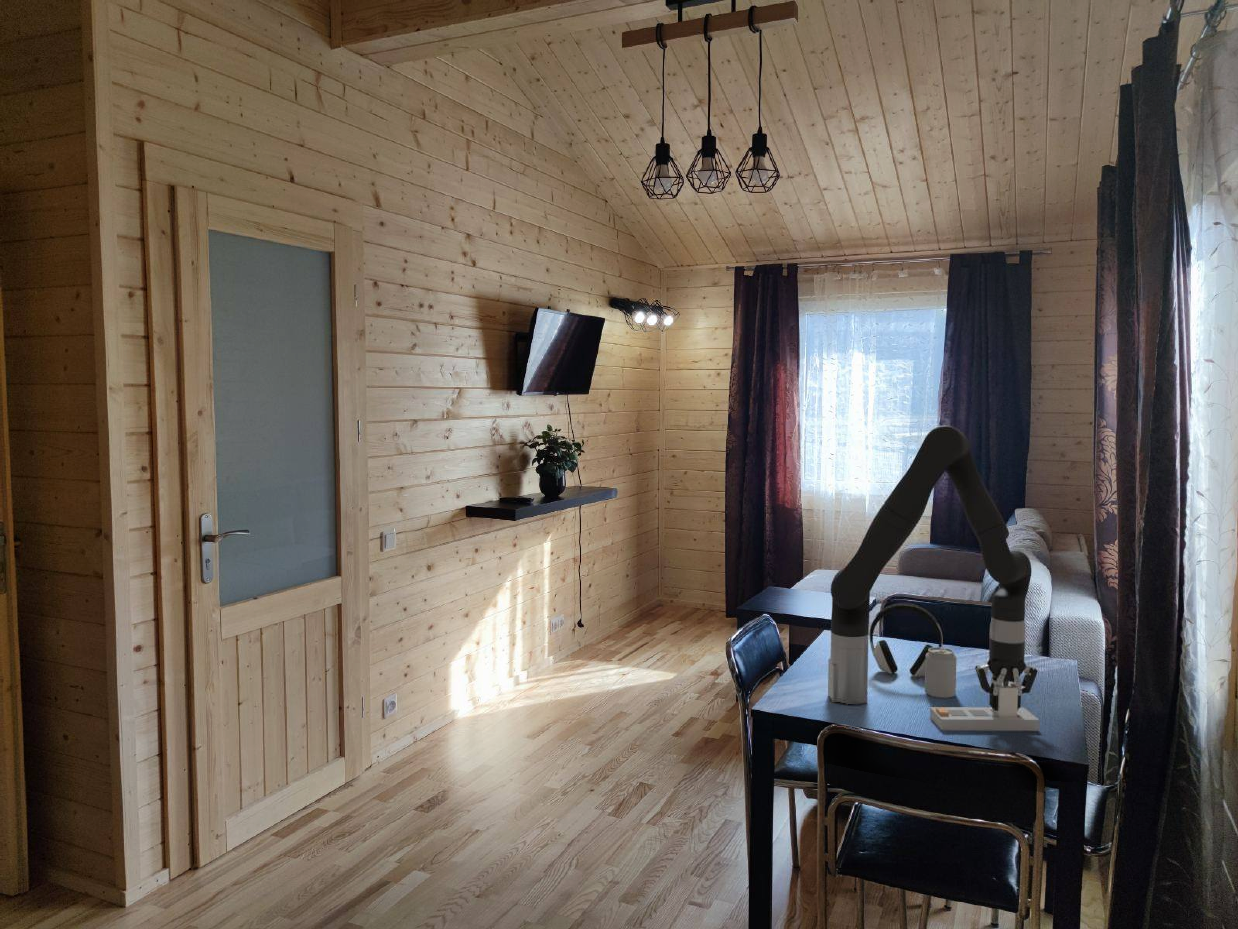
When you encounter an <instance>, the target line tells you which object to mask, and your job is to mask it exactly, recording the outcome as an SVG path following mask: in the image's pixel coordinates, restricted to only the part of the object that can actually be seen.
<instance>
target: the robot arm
mask: <svg viewBox="0 0 1238 929" xmlns="http://www.w3.org/2000/svg"><path fill="white" fill-rule="evenodd" d="M970 446H971V445H970V443H969V439H968V438H967V436H966V435H965V434H964V433H963V432H962V431H960V429H958V428H955V427H953V426H950V425H944V424H943V425H938V426H936V427H934V428H933V429H931V430H930V431H929V432H928V433H927V434H926V436H925V437H924V440H923V441H922V443H921V445H920V447H919V449H918V451H917V453H916V454H915V457H914V458H913V460H912V462H911V464H910V466H909V468H908V469H907V471H906V472H905V473H904V475H903V476H902V478H900V480H899V481H898V483H897V484H896V486H895V487H894V489H893V490H892V491H891V493H890V494H889V496H887V498H886V499H885V501H884V503H883V504H882V506H881V507H880V508H879V510H878V511H877V513H876V514H875V516H874V517H873V519H872V521H871V523H870V525H869V527H868V529H867V531H866V532H865V535H864V537H863V539H862V540H861V543H860V546H859V547H858V550H857V551H856V552H855V554H854V555H853V557H852V558H851V559H850V560H849V562H848V563H847V564H846V566H845V567H844V568H842V569H840V570H839V571H837V573H836V574H835V575H834V577H833V578H832V582H831V585H830V595H831V598H832V599H831V600H832V601H831V617H830V618H831V619H830V658H828V663H827V667H828V670H827V678H828V679H827V695H829V696H830V697H829V696H828V697H829V699H830V698H831V699H832V700H831V699H830V700H831V702H832V701H833V702H841V703H846V704H845V705H848V704H855V705H854V706H857V705H863V704H866V703H867V702H868V695H869V694H868V693H869V691H868V688H869V687H868V685H869V683H868V682H869V681H868V680H869V679H868V678H869V674H868V673H869V633H870V606H871V605H870V604H871V601H870V600H871V598H870V596H871V595H870V594H871V590H872V589H873V587H874V585H875V583H876V581H877V579H878V578H879V576H880V574H881V573H882V571H883V569H884V568H885V566H886V565H887V564H888V563H889V561H891V559H892V558H893V557H895V556H894V555H896V554H897V553H898V551H899V550H900V548H902V546H903V545H904V543H905V541H907V539H908V538H909V537H910V536H911V533H913V531H914V530H915V528H916V526H917V524H919V522H920V520H921V518H922V517H923V516H924V515H923V514H924V512H925V510H926V508H927V505H928V502H929V499H930V497H931V494H932V492H933V489H934V488H935V486H936V484H937V483H938V481H939V480H940V479H941V477H942V476H943V475H944V473H945V472H946V473H947V475H948V477H949V478H950V479H951V482H952V483H953V485H954V487H955V490H956V491H957V494H958V497H959V499H960V502H961V505H962V509H963V511H964V514H965V517H966V519H967V521H968V523H969V525H970V528H971V529H972V532H973V533H974V535H975V537H976V538H977V541H978V542H979V547H980V552H981V556H982V559H983V560H982V561H983V563H984V566H985V569H986V571H987V573H988V574H989V575H990V577H991V579H993V580H994V581H995V582H997V583H998V584H999V587H998V588H997V589H998V590H997V591H996V592H995V593H994V594H993V595H992V600H991V621H990V625H989V631H988V632H989V645H988V646H989V647H988V648H989V649H988V652H989V653H988V654H989V655H988V656H989V657H988V661H987V662H986V664H983V665H981V666H980V665H976V666H975V668H974V669H975V672H976V675H977V678H978V681H979V684H980V689H982V691H984V692H985V693H986V694H987V693H988V694H989V701H988V702H989V707H992V709H993V710H994V711H998V693H999V687H1001V686H1002V683H1003V682H1004V681H1009V683H1011V684H1013V685H1014V686H1015V687H1017V688H1018V702H1017V711H1018V709H1020V708H1022V707H1021V706H1022V695H1023V694H1029V693H1030V692H1031V690H1032V688H1033V685H1034V682H1035V680H1036V677H1037V674H1038V669H1037V668H1036V667H1034V666H1032V665H1027V664H1026V662H1025V657H1026V656H1025V654H1026V653H1025V652H1026V620H1025V617H1026V598H1027V595H1028V591H1029V588H1030V583H1031V579H1032V564H1031V560H1030V558H1029V556H1028V555H1027V554H1025V553H1024V551H1021V550H1016V549H1014V550H1011V549H1010V547H1009V544H1008V541H1007V539H1008V538H1009V535H1010V532H1009V528H1008V527H1007V524H1006V522H1005V521H1004V519H1003V517H1002V515H1001V513H1000V510H999V509H998V507H997V505H996V504H995V502H994V499H993V498H992V497H991V495H990V493H989V491H988V490H987V487H986V486H985V484H984V482H983V479H982V477H981V475H980V473H979V470H978V468H977V465H976V462H975V459H974V457H973V453H972V449H971V447H970ZM989 671H990V672H991V674H992V676H991V678H990V684H989V680H988V678H987V675H988V672H989ZM1023 672H1024V674H1025V675H1024V677H1023V679H1022V682H1021V678H1020V676H1021V675H1022V674H1023ZM833 702H832V703H833ZM841 703H840V704H841Z"/></svg>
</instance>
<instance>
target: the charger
mask: <svg viewBox="0 0 1238 929" xmlns="http://www.w3.org/2000/svg"><path fill="white" fill-rule="evenodd" d="M1017 702H1018V688H1017V687H1015V686H1014V685H1013V684H1011V683H1010V681H1004V682H1003V683H1002V686H1001V687H999V693H998V711H994V710H993V713H994V714H995V715H996V716H997V717H1010V718H1017Z"/></svg>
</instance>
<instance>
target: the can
mask: <svg viewBox="0 0 1238 929" xmlns="http://www.w3.org/2000/svg"><path fill="white" fill-rule="evenodd" d="M928 651H929V652H928V653H927V654H926V661H925V676H924V692H925V693H926V694H927V695H928V696H930V697H933V698H938V699H951V698H953V697H955V696H956V695H957V694H956V692H957V656H956V655H955V650H953V649H952V648H949V647H943V646H942V647H939V646H933V647H932V648H929V649H928Z"/></svg>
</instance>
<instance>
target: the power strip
mask: <svg viewBox="0 0 1238 929" xmlns="http://www.w3.org/2000/svg"><path fill="white" fill-rule="evenodd" d="M929 719H930V720H931V721H932V722H933V723H934V724H935V726H936V727H937V728H938V729H939V730H940V731H986V732H987V731H991V732H992V731H994V732H995V731H997V732H998V731H1002V732H1003V731H1005V732H1007V731H1008V732H1009V731H1010V732H1011V731H1015V732H1017V731H1018V732H1019V731H1020V732H1021V731H1023V732H1024V731H1027V732H1028V731H1032V732H1033V731H1034V732H1038V731H1039V728H1040V727H1039V726H1040V719H1039V718H1037V717H1036V716H1035V715H1033V714H1032V713H1031V712H1030V711H1029V710H1027V708H1025V707H1020V709H1018V711H1017V718H1010V717H997V716H996V715H995V714H994V713H993V709H992V707H990V706H989V707H985V706H984V707H983V706H981V707H978V706H977V707H975V706H973V707H971V706H967V707H966V706H965V707H964V706H962V707H961V706H959V707H957V706H954V707H953V706H951V707H950V706H949V707H947V706H946V707H945V706H944V707H943V706H941V707H939V706H938V707H937V706H933V707H931V706H930V707H929Z"/></svg>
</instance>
